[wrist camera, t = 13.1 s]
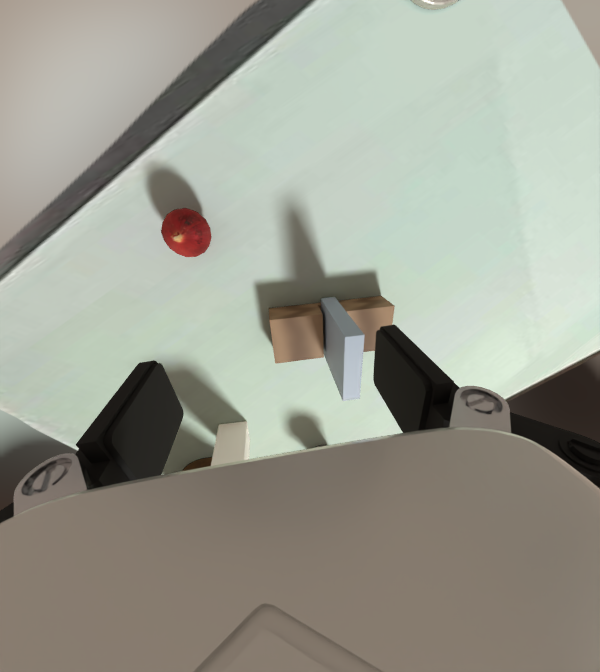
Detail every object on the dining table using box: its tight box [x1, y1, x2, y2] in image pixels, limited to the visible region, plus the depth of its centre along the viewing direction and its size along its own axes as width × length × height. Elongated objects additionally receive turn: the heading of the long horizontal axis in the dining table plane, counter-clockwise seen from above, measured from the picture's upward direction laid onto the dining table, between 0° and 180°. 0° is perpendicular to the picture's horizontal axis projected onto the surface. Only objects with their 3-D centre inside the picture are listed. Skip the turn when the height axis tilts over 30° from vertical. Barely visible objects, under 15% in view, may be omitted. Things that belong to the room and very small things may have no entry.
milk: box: [211, 421, 250, 466], centre depth 45 cm, size 6×6×22 cm
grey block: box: [321, 297, 365, 401], centre depth 38 cm, size 2×10×14 cm, turn 3°
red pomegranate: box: [161, 208, 211, 257], centre depth 32 cm, size 6×6×8 cm
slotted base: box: [269, 296, 394, 363], centre depth 43 cm, size 20×8×5 cm, turn 94°
